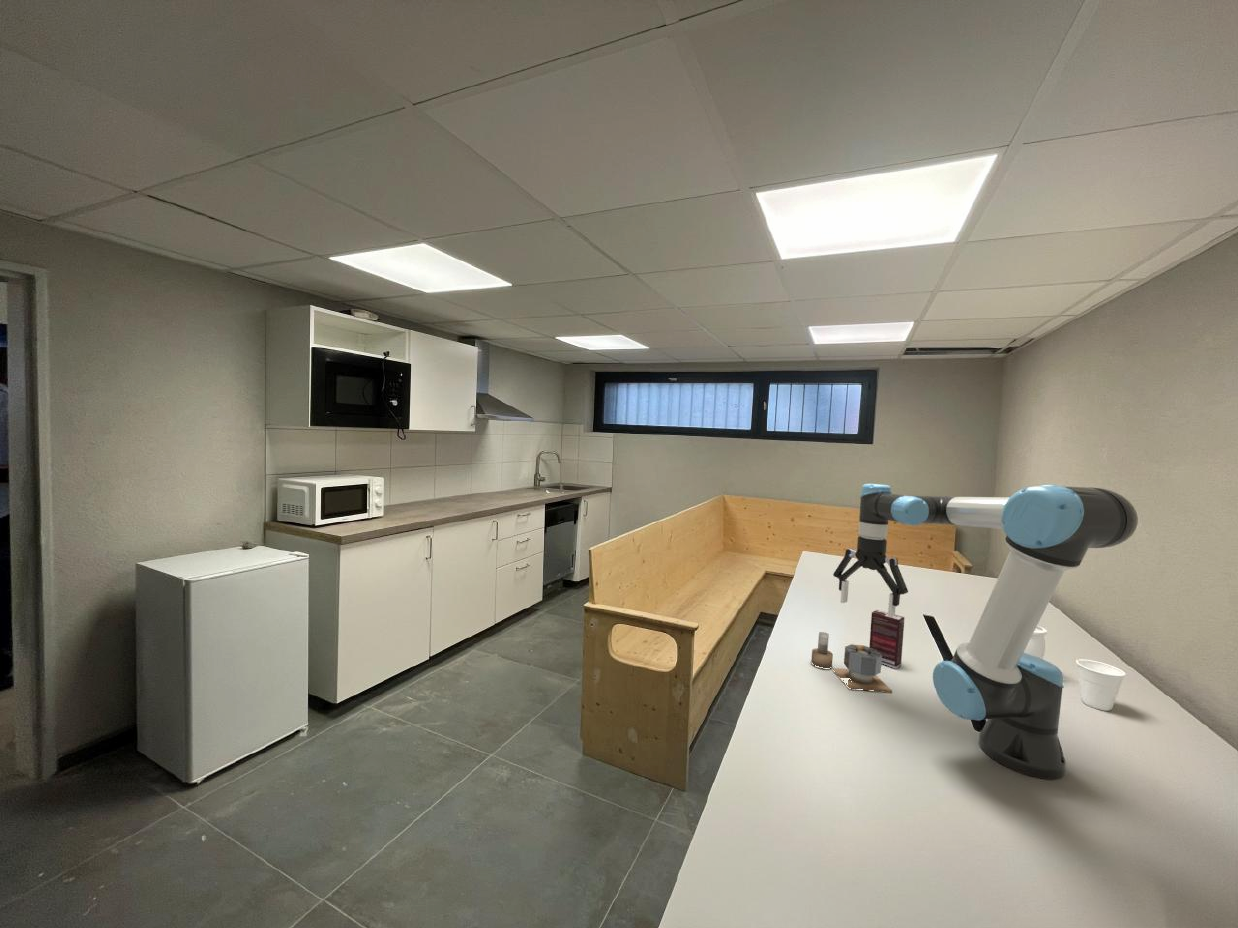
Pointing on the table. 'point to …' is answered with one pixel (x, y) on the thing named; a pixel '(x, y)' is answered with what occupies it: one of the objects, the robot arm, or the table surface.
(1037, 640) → the jar
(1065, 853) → the table surface
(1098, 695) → the cup
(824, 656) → the stand
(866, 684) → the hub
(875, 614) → the supplement box
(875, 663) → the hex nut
